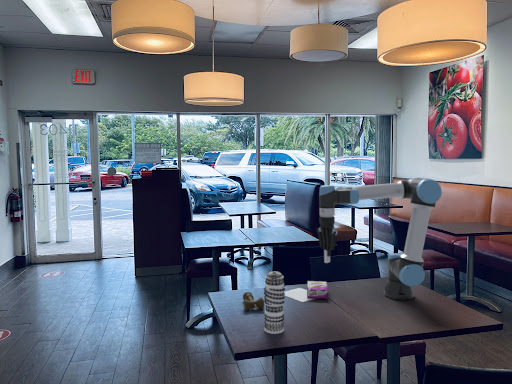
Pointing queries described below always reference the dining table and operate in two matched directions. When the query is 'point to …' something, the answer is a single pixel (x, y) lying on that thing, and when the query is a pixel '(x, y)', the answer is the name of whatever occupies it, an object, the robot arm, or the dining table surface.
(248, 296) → the kendama
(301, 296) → the mat
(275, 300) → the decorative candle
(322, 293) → the candy bar box
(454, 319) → the dining table surface
